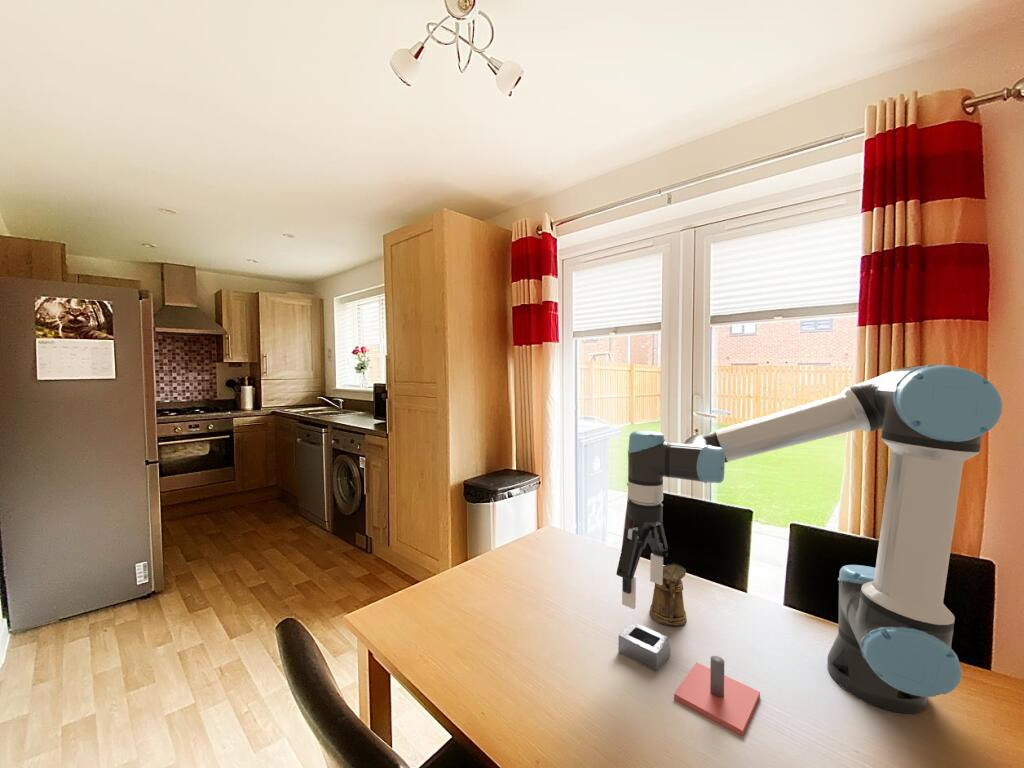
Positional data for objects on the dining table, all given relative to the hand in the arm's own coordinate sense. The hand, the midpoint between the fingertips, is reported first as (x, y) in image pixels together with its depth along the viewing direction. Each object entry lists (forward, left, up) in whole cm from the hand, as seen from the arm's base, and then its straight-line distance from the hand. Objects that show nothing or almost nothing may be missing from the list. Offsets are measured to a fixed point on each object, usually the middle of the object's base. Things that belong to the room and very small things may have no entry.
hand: (643, 593), depth 92 cm
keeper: (-16, +2, -14) cm, 21 cm away
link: (0, 0, -14) cm, 14 cm away
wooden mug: (+1, -16, -14) cm, 21 cm away
